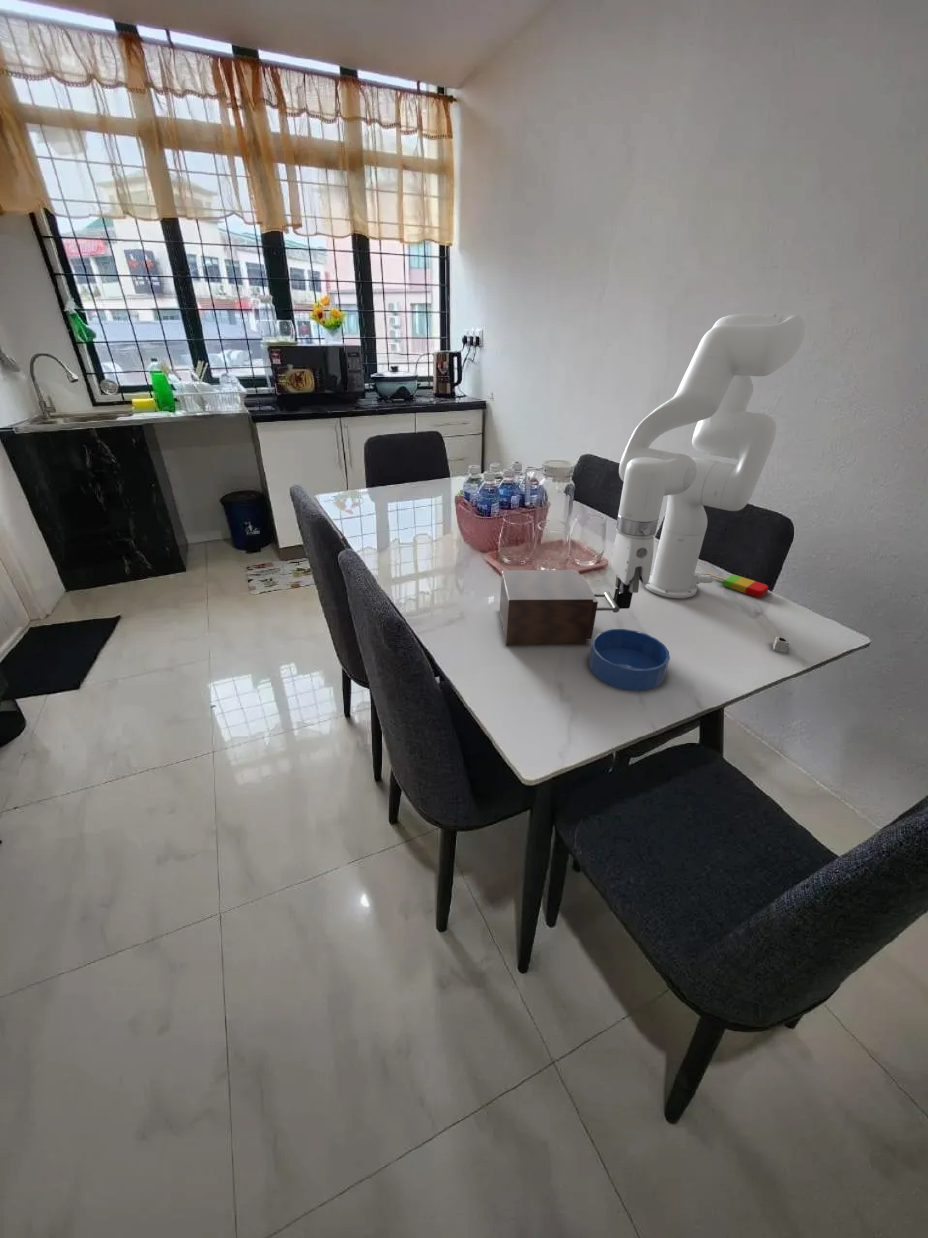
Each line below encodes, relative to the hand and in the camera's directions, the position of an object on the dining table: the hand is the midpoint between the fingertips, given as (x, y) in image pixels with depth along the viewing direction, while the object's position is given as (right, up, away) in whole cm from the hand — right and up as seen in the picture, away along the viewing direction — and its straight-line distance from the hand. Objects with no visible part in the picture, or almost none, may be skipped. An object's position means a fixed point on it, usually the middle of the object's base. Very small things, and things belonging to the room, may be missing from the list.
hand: (621, 606), depth 107 cm
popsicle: (+35, +6, +21) cm, 42 cm away
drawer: (-12, -4, +2) cm, 13 cm away
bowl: (-2, -12, -10) cm, 16 cm away
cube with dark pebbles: (+31, -9, -4) cm, 33 cm away
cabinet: (-17, -5, +2) cm, 18 cm away
